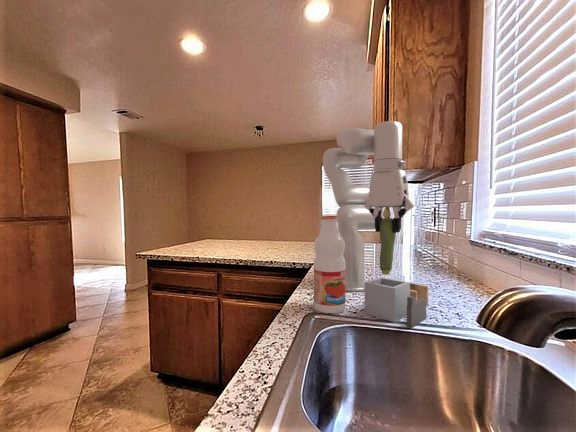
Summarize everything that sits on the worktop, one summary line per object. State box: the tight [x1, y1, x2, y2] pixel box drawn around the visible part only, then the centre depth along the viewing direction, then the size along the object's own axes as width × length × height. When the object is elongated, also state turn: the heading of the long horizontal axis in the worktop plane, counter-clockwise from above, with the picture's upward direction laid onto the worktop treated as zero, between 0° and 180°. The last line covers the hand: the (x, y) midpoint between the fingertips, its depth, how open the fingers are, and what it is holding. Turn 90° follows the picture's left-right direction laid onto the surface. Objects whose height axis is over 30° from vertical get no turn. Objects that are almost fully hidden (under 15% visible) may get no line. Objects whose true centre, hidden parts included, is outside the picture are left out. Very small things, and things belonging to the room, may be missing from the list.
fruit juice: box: [313, 214, 346, 315], centre depth 85 cm, size 9×9×28 cm
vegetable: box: [379, 207, 397, 276], centre depth 81 cm, size 4×4×20 cm
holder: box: [410, 282, 429, 307], centre depth 89 cm, size 11×9×6 cm
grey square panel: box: [406, 296, 427, 329], centre depth 75 cm, size 1×9×8 cm, turn 134°
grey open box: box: [364, 276, 411, 323], centre depth 81 cm, size 9×9×9 cm
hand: (387, 231), depth 81 cm, fingers closed on vegetable, 4 cm apart
